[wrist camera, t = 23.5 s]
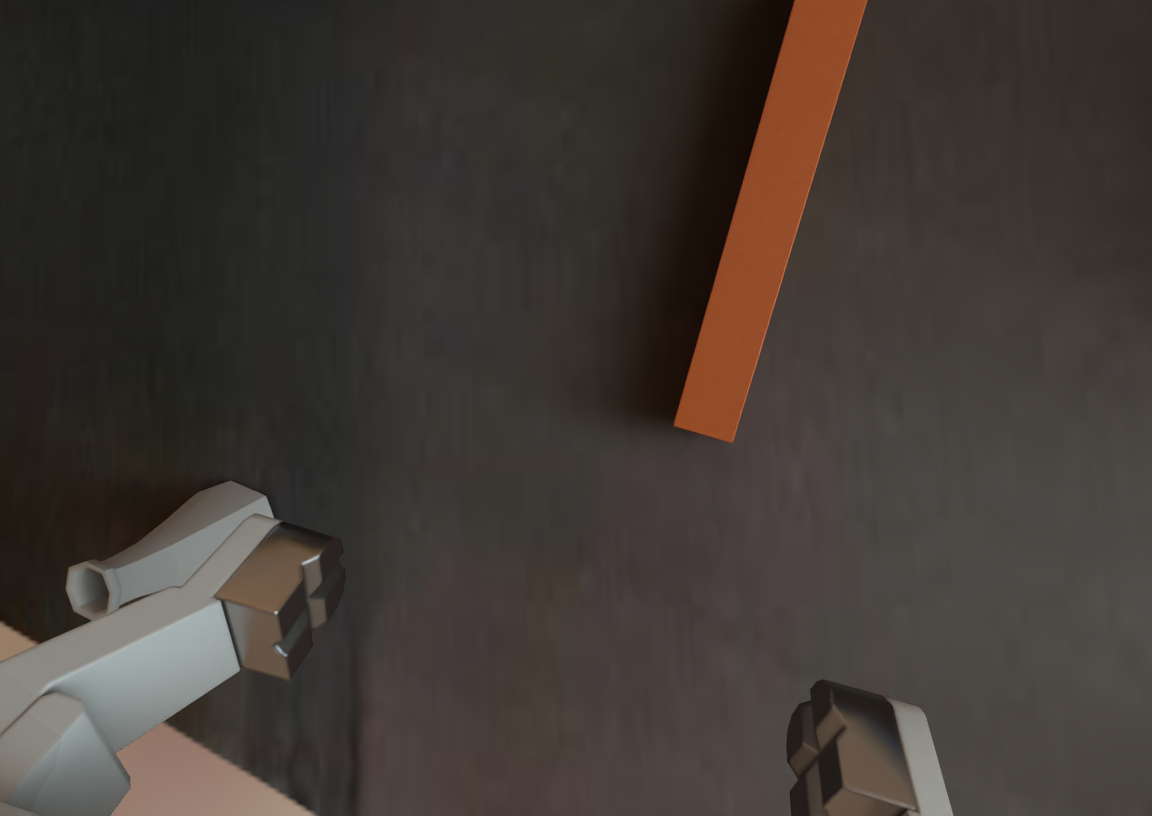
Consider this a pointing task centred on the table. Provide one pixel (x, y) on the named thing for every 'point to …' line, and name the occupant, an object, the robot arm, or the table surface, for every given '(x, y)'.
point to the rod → (768, 212)
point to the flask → (164, 551)
